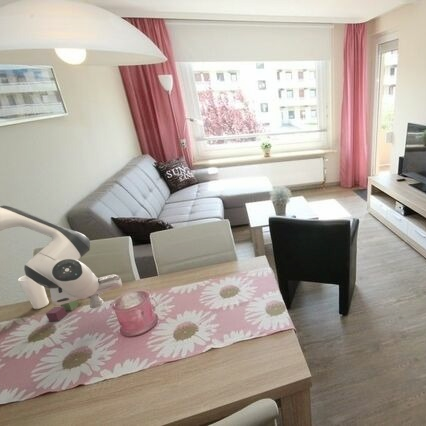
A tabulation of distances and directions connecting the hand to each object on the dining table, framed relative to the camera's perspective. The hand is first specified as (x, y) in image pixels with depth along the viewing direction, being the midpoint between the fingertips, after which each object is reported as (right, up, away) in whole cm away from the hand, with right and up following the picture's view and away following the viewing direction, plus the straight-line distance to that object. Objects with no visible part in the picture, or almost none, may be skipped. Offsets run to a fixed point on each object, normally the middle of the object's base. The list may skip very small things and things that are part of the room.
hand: (93, 295), depth 113 cm
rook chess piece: (+1, -4, +1) cm, 5 cm away
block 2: (-21, -9, +14) cm, 27 cm away
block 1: (-21, -12, +8) cm, 25 cm away
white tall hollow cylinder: (-36, -10, +17) cm, 41 cm away
